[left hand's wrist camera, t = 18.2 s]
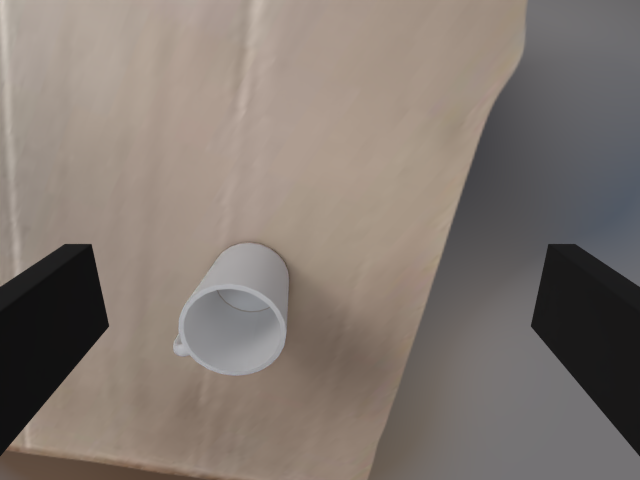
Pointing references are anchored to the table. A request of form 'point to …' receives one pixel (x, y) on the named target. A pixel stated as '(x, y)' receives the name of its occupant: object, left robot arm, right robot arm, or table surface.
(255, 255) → the mug
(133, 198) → the table surface
